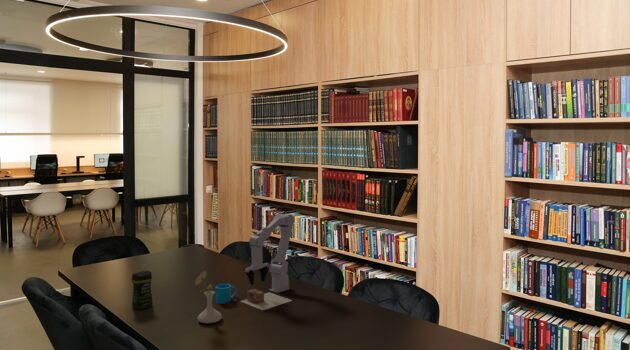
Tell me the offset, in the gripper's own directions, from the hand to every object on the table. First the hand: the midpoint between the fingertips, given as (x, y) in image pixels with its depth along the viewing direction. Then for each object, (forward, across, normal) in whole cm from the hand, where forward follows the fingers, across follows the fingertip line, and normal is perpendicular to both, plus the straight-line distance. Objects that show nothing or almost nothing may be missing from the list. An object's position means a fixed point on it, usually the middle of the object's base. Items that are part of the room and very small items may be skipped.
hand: (257, 282), depth 247 cm
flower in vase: (+9, +36, +7) cm, 37 cm away
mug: (+10, +12, -11) cm, 19 cm away
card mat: (+9, 0, +6) cm, 11 cm away
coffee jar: (+9, +48, -34) cm, 60 cm away
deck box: (+9, +3, +2) cm, 10 cm away
